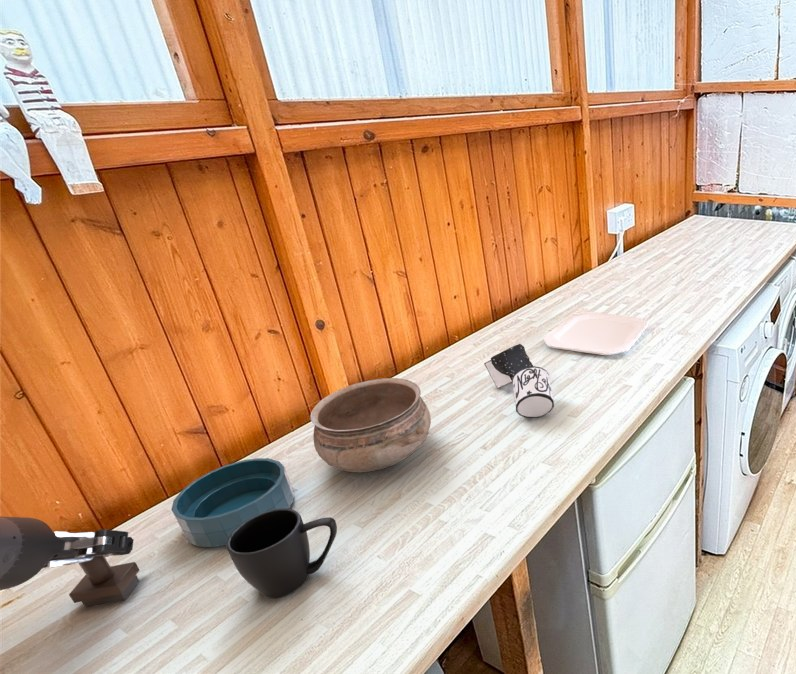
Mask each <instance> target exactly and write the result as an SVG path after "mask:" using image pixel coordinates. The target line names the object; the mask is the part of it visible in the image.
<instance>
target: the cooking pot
mask: <svg viewBox="0 0 796 674" xmlns="http://www.w3.org/2000/svg"><path fill="white" fill-rule="evenodd" d="M421 393H422V392H421V389H420V386H418V384H416V383H415V382H413V381H412V380H409V379H405V378H398V377H397V378H396V377H382V378H374V379H368V380H364V381H359V382H356V383H353V384H350V385H347V386H344V387H342V388H339V389H338V390H337V389H336V390H335V391H333V392H331V393H330V394H328V395H327V396H325V397H324V398H322V399H321V400H319V402H317V404H316V405H314V407H313V409H312V410H311V413H310V421H311V423H312V424H313V425H314V427H313V446H314V449H315V451H316V453H317V455H318V457H320V459H321V460H322V461H324V462H325V463H326V464H328V465H329V466H331V467H332V468H335V469H337V470H340V471H345V472H348V473H349V472H350V473H368V472H373V471H379V470H383V469H386V468H388V467H392V466H394V465H396V464H398V463H400V462H402V461H404V460H405V459H407V458H408V457H410V456H411V455H412V454H414V453H415V452H416V451H417V450H418V449H419V448H420V447H421V446H422V444H424V442H425V440H426V438H427V437H428V436H429V435H430V428H431V425H432V424H431V423H432V422H431V421H432V420H431V413H430V410H429V407H428V405H427V403H426V402H425V401H424V399H423V398H422V397H421Z"/></svg>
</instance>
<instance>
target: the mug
mask: <svg viewBox="0 0 796 674" xmlns="http://www.w3.org/2000/svg"><path fill="white" fill-rule="evenodd" d="M319 527H327V528H329V537H328V540H327V543H326V545H325V548H324V550H323V551H322V553H321V554H320V556H318V558H317V559H315V560H314V561H311V560H310V558H311V552H310V550H311V549H310V541H309V537H308V531H310V530H312V529H316V528H319ZM337 531H338V526H337V521H336V520H335V518H333V517H331V516H329V517H326V516H325V517H321V518H317V519H314V520H311V521H308V522H305V523H304V521H303V518H302V516H301V514H300V512H299V511H297V510H295V509H293V508H289V509H288V508H281V509H274V510H270V511H266V512H264V513H261V514H258V515H256V516H254V517H252V518H250V519H248V520H247V521H245V522H244V523H242V524H241V525H240V526H238V527H237V528H236V529H235V530H234V531H233V532H232V533H231V535H230V536H229V538H228V540H227V543H226V545H225V547H226V551H227V553H228V555H229V557H230V560H231V561H232V563H233V565H234V567H235V569H236V570H237V572H238V573H239V574H240V576H241V577H242V578H243V579H244V580H245V581H246V582H247V583H248V584H249V585H250V586H251V587H253V588H254V589H255V590H257V591H258V592H259V593H261V594H262V596H263V597H265V598H268V599H280V598H283V597H286V596H289V595H291V594H293V593H294V592H296V591H297V590H298V589H300V588H301V587H302V586H303V585H304V584H305V583H306V582H307V580H308V578H309V576H310V575H312V574H315V573H316V572H317V571H318V570H319V569H320V568H321V567H322V566H323V564H324V563H325V560H326V558H327V556H328V554H329V552H330V549H331V547H332V545H333V544H334V541H335V540H336V539H335V538H336V535H337ZM310 561H311V562H310Z"/></svg>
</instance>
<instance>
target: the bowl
mask: <svg viewBox="0 0 796 674" xmlns="http://www.w3.org/2000/svg"><path fill="white" fill-rule="evenodd" d="M291 483H292V482H291V480H290V478H289V475H288V473H287V470H286V467H285V466H284V465H283V463H281V462H280V461H279V460H276V459H272V458H264V457H262V458H261V457H259V458H258V457H256V458H250V459H242V460H239V461H235V462H233V463H232V462H231V463H229V464H226V465H223V466H221V467H218V468H216V469H214V470H210V471H209V472H207V473H205V474H203V475H202V476H200V477H198V478H197V479H195V480H192V482H190V483H189V484H188V485H187V486H185V487H184V488H183V489H182V490H180V492H179V493H178V494H177V496H176V497H175V498H174V499H173V501H172V505H171V512H172V514H173V516H174V518H175V520H176V522H177V524H178V525H179V528H180V529H181V531H182V533H183V535H184V537H185V539H186V540H187V542H188V543H189V544H192V545H194V546H196V547H198V548H199V547H201V548H203V547H204V548H215V547H220V546H226V543H227V540H228V538H229V536H230V535H231V533H232V532H233V531H234V530H235V529H236V528H237V527H238V526H240V525H241V524H242V523H244V522H245V521H247V520H248V519H250V518H252V517H254V516H256V515H258V514H261V513H264V512H266V511H270V510H274V509H281V508H288V509H291V506H292V504H293V502H294V500H295V493H294V492H295V491H294V488H293V486H292V484H291Z"/></svg>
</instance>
